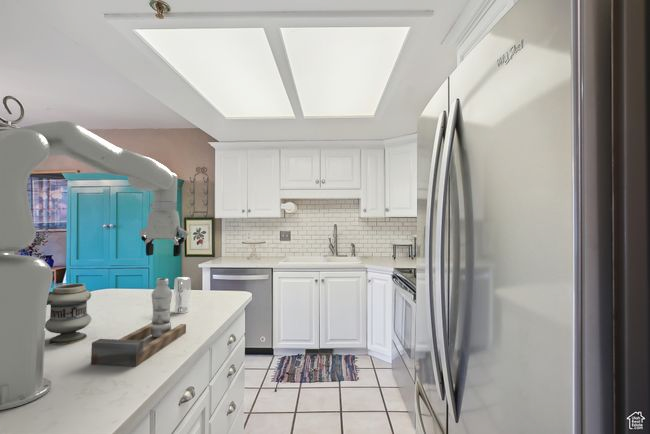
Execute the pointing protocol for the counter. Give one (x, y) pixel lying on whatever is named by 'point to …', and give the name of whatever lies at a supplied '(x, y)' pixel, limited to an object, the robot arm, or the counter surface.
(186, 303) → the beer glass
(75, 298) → the apothecary jar
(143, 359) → the guide track
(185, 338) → the counter surface
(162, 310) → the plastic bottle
